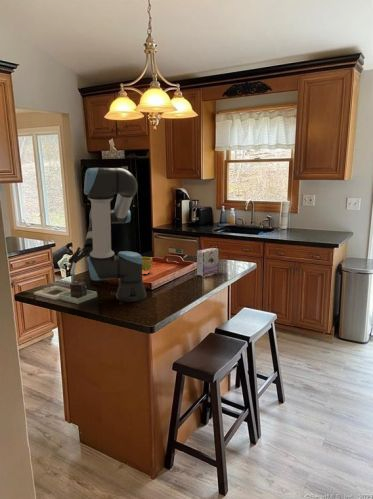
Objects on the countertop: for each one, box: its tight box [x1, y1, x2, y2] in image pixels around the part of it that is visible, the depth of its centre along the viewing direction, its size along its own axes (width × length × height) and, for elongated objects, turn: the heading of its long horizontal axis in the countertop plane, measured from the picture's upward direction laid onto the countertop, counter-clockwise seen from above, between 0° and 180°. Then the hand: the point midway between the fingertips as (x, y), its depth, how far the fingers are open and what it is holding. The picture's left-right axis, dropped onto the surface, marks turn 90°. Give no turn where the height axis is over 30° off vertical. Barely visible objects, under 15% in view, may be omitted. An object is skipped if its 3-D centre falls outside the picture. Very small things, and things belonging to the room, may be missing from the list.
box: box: [69, 280, 87, 299], centre depth 190 cm, size 6×6×7 cm
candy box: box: [196, 247, 220, 276], centre depth 231 cm, size 14×6×16 cm, turn 133°
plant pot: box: [142, 256, 153, 270], centre depth 236 cm, size 10×10×10 cm
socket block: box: [33, 285, 71, 300], centre depth 197 cm, size 16×14×2 cm
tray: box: [58, 289, 98, 305], centre depth 190 cm, size 13×13×2 cm
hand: (84, 274), depth 197 cm, fingers open, 13 cm apart
